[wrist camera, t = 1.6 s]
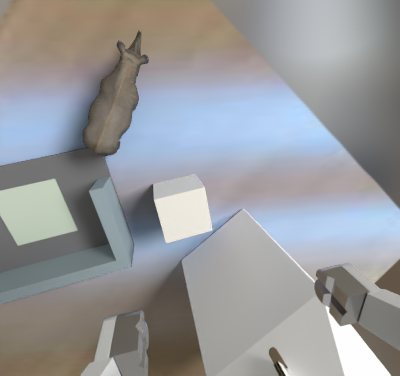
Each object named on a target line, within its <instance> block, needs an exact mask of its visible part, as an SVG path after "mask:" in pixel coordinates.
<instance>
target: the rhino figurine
mask: <svg viewBox="0 0 400 376" xmlns="http://www.w3.org/2000/svg"><path fill="white" fill-rule="evenodd" d="M140 45H141V30H139V31H138V33H137V36H136V38H135V40H134V42H133V43H132V45H131V46H130V47H129V48H128V49H125V45H124V44H123V43H122V42H121V41H120V40H119V41H118V43H117V47H118V49H119V51H120V53H121V56H120V61H119V63H118V65H117V66H116V68H115V70H114V71H113V73H112V74H111V75H109V76H107V77H105V78H104V79H103V80H102V81H101V86H100V89H101V90H100V92H99V95H98V96H97V97H96V99H95V100H94V102H93V103H92V105H91V108H90V111H89V117H88V120H89V124H88V125H87V127H85V129H84V130H83V142H84V144H85V146H86V147H87V148H88V149H90V150H93V151H94V154H100V155H102V156H104V155H105V156H107V155H111V154H114V153H116V152H117V150H118V149H119V146H120V141H119V140H120V138H121V136H122V135H123V134H124V133H125V132H126V131H127V129H128V128H129V127H130V124H131V119H132V112H133V110H135V109H136V106H137V104H138V100H139V96H138V92H137V88H136V86H135V83H136V77H137V76H138V72H139V68H140V65H142V64H146V63H148V61H149V57H148V56H146V55H142V56H141V54H140ZM140 56H141V57H140Z"/></svg>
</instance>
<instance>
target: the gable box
mask: <svg viewBox="0 0 400 376" xmlns="http://www.w3.org/2000/svg"><path fill="white" fill-rule="evenodd" d="M182 267H183V272H184V276H185V281H186V286H187V290H188V295H189V300H190V304H191V309H192V314H193V318H194V323H195V328H196V332H197V337H198V342H199V346H200V351H201V356H202V361H203V365H204V370H205V375H206V376H391V375H390V374H389V372H388V371H387V370H386V368H385V367H384V366H383V365H382V363H381V362H380V361H379V360H378V358H377V357H376V356H375V355H374V353H373V352H372V351H371V350H370V348H369V347H368V346H367V344H366V343H365V342H364V341H363V339H362V338H361V337H360V336H359V335H358V333H357V332H356V331H355V329H354V328H353V327H352V326H351V324H349V325H345V326H339V324H338V323H337V322H336V321H335V319H334V318H333V317H332V316H331V314H330V313H329V307H327V306H325V305H324V304H322V303H321V302H320V300H319V299H318V297H317V295H316V293H315V289H314V284H315V281H314V280H313V279H312V278H311V277H310V276H309V275H308V274H307V273H306V272H305V271H304V270H303V269H302V268H301V267H300V266H299V265H298V264H297V263H296V262H295V261H294V259H293V258H292V257H291V256H290V255H289V254H288V253H287V252H286V251H285V250H284V249H283V248H282V247H281V246H280V245H279V244H278V243H277V242H276V241H275V240H274V239H273V238H272V237H271V236H270V235H269V234H268V233H267V232H266V231H265V230H264V229H263V228H262V227H261V226H260V225H259V224H258V223H257V222H256V221H255V220H254V218H253V217H252V216H251V215H250V214H249V213H248V212H247V211H246V210H245V209H242V210H241V211H239V212H238V213H237V214H236V215H235V216H233V217H232V218H231V219H230V220H229V221H228V222H226V223H225V224H224V225H223V226H222V227H220V228H219V229H218V230H217V231H216V232H215V233H213V234H212V235H211V236H210V237H209V238H207V239H206V240H205V241H204V242H203V243H201V244H200V245H199V246H198V247H197V248H196V249H194V250H193V251H192V252H191V253H190V254H188V255H187V256H186V257H185V258H184V259H183V260H182Z"/></svg>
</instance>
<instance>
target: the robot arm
mask: <svg viewBox="0 0 400 376" xmlns="http://www.w3.org/2000/svg"><path fill="white" fill-rule="evenodd" d="M316 276H317V278H318V279H317V280H316V282H315V284H314V289H315V293H316V295H317V297H318V299H319V300H320V302H321V303H322V304H324V305H325V306H327V307H329V313H330V314H331V316H332V317H333V318H334V319H335V321H336V322H337V323H338V324H339V326H345V325H349V324H353V323H358V324H360V325H361V326H363V327H364V328H366V329H367V330H369V331H370V332H372V333H373V334H375V335H377V336H378V337H380V338H381V339H383V340H384V341H386V342H387V343H389V344H390V345H392V346H393V347H395V348H396V349H398V350H399V351H400V296H399V295H397V294H394V293H392V292H390V291H387V290H385V289H382V290H381V289H380V288H378V287H377V286H376V285H375V284H374V283H373V282H372V281H370V280H369V279H368V278H367V277H366V276H365V275H364V274H362V273H361V272H360V271H359V270H358V269H357V268H356V267H354V266H353V265H352V264H350V263H344V264H340V265H335V266H331V267H327V268H322V269H318V271H317V272H316ZM148 348H149V332H148V326H147V323H146V322H145V321H144V313H143V311H137V312H132V313H127V314H122V315H117V316H112V317H108V318H105V320H104V321H103V324H102V328H101V333H100V337H99V341H98V345H97V349H96V353H95V358H94V362H91V363H89V364H88V366H87V367H86V368H85V370H84V371H83V372H82V374H81V375H80V376H148V356H147V353H146V351H147V349H148Z"/></svg>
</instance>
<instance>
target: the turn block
mask: <svg viewBox="0 0 400 376" xmlns="http://www.w3.org/2000/svg"><path fill="white" fill-rule="evenodd" d="M153 191H154V202H155V205H156V209H157V212H158V216H159V219H160V223H161V226H162V230H163V234H164V237H165V241H166V243H170V242H173V241H177V240H180V239H184V238H187V237H191V236H195V235H198V234H202V233H205V232H209V231H212V225H211V219H210V214H209V208H208V203H207V197H206V192H205V187H204V186H203V184H202V183H201V182H200V180H199V179H198V178H197V176H196V175H195V174H193V175H188V176H184V177H180V178H176V179H172V180H167V181H163V182H159V183H155V184H153Z"/></svg>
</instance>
